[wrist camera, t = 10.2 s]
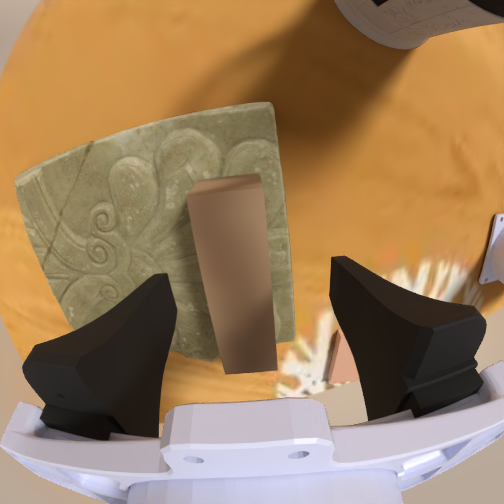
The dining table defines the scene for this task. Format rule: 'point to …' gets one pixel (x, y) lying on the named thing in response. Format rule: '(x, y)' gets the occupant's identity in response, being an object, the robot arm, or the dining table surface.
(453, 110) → the dining table surface
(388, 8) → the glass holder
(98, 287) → the decorative tile
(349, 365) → the glazed tile
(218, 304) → the walnut stick
